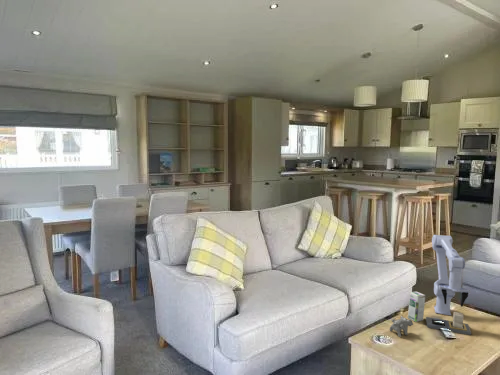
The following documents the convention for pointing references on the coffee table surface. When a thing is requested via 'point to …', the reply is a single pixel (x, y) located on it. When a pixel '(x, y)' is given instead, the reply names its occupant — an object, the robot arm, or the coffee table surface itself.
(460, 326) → the peg
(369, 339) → the coffee table surface
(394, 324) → the gray elephant figurine
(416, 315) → the syrup box
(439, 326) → the rail
